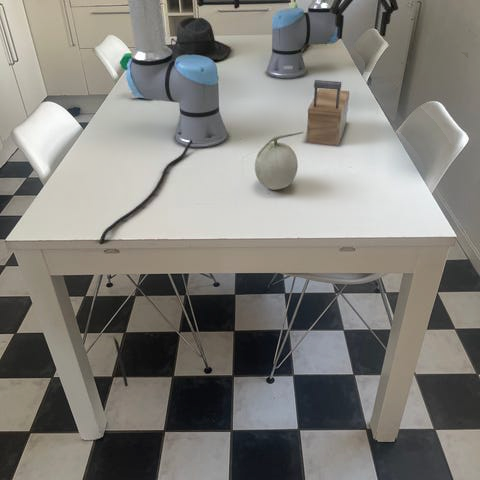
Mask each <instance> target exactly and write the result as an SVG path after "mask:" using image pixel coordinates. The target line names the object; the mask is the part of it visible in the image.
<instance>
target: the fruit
mask: <svg viewBox="0 0 480 480" xmlns="http://www.w3.org/2000/svg"><path fill="white" fill-rule="evenodd" d="M301 134H304V131H300V132H295V133H289V134H283V135H282V134H281V135H278V136H274V137H273V138H271V139H270V140H269V141H268V142H266V144H265V145H264V146H262V147H261V148H260V150H259V151H258V153H257V154H256V158H255V159H254V160H255V161H254V171H255V175H256V179H257V180H258V182H259V183H260V184H261V185H262V186H264V187H265V188H267V189H268V190H274V191H276V190H282V189H285V188H287V187H288V186H290V185H291V184H292V182H293V181H294V180H295V178H296V176H297V173H298V167H299V166H298V158H297V155H296V153H295V150H294V149H293V148H292V147H291V146H290V145H288V144H286V143H284V142H281V141H280V142H279V140H281V139H283V138H287V137H293V136H296V135H301Z"/></svg>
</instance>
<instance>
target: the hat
mask: <svg viewBox="0 0 480 480" xmlns="http://www.w3.org/2000/svg"><path fill="white" fill-rule="evenodd" d="M214 34H215V33H214V30H213V27H212V25H211V23H210V22H209V21H208V20H207V19H205V18H203V17H186V18H183V19H182V20H181V21H179V23H178V25H177V28H176V40H175V38H174V37H171V40H170V44H166V46H167V47H169V48H170V49H171V50H172V55H173V60H176V58H177V57H179V56H182V55H200V56H204V57H207V58H209V59H211V60H217V61H219V60H223V59H225V58H226V57H227V56H228V54H229V52H230V51H232V48H231V47H230V46H229V45H227V44H225V43H223V42H221V41H218V40H216V39H215V35H214ZM173 42H174V44H173Z"/></svg>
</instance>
